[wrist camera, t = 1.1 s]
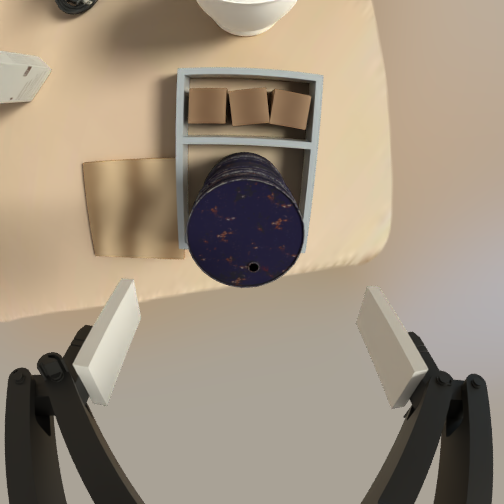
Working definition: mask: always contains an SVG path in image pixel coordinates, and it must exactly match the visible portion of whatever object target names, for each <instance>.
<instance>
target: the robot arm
mask: <svg viewBox="0 0 504 504" xmlns="http://www.w3.org/2000/svg"><path fill="white" fill-rule="evenodd" d="M140 319H141V315H140V310H139V305H138V300H137V294H136V289H135V283H134V279H123V278H121V280H120V282H119V283H118V285H117V286H116V288H115V290H114V291H113V293H112V295H111V296H110V298H109V300H108V301H107V303H106V305H105V306H104V308H103V310H102V312H101V313H100V315H99V317H98V319H97V320H96V322H95V324H94V326H89V325H85V326H84V327H82V328H81V329H80V330H79V331H78V332H77V334H76V336H75V337H74V340H73V341H72V343H71V346H69V348H68V350H67V352H66V353H65V355H64V357H63V358H62V356H61V355H59V354H58V353H54V352H51V353H47V354H45V355H43V356H42V357H41V358H40V359H39V361H38V363H37V369H38V370H39V372H40V374H41V375H31V373H30V372H29V370H28V369H26V368H18V369H15V370H14V371H13V372H12V373H11V374H10V376H9V379H8V388H7V399H6V414H5V462H6V463H5V464H6V478H7V488H8V496H9V504H67V503H66V499H65V494H64V489H63V484H62V479H61V474H60V468H59V462H58V455H57V447H56V439H55V428H54V416H56V419H57V422H58V425H59V427H60V430H61V433H62V435H63V438H64V440H65V443H66V445H67V448H68V450H69V453H70V455H71V457H72V459H73V462H74V464H75V465H76V468H77V470H78V472H79V474H80V477H81V478H82V481H83V483H84V485H85V486H86V488H87V490H88V492H89V494H90V496H91V498H92V500H93V501H94V503H95V504H145V503H144V502H143V501H142V499H141V498H140V496H139V495H138V493H137V492H136V490H135V489H134V487H133V486H132V485H131V483H130V481H129V480H128V478H127V477H126V475H125V473H124V472H123V470H122V468H121V467H120V465H119V463H118V462H117V460H116V459H115V457H114V455H113V453H112V452H111V450H110V448H109V446H108V444H107V442H106V440H105V439H104V437H103V435H102V433H101V431H100V429H99V427H98V425H97V423H96V421H95V419H94V417H93V415H92V412H91V410H90V408H89V406H88V404H87V400H88V398H89V397H90V399H91V400H92V402H93V403H95V404H100V405H104V406H108V403H109V400H110V397H111V394H112V392H113V389H114V386H115V383H116V380H117V378H118V375H119V372H120V370H121V367H122V364H123V361H124V359H125V357H126V354H127V351H128V349H129V346H130V344H131V341H132V339H133V336H134V334H135V331H136V329H137V327H138V324H139V322H140ZM356 325H357V327H358V329H359V331H360V333H361V336H362V338H363V340H364V343H365V345H366V347H367V349H368V352H369V354H370V357H371V359H372V362H373V364H374V366H375V369H376V371H377V374H378V376H379V378H380V381H381V383H382V386H383V388H384V391H385V393H386V396H387V399H388V401H389V404H390V406H391V409H393V408H399V407H404V406H405V405H406V403H407V402H408V400H409V399H410V401H411V403H412V406H411V407H410V408H409V410H408V411H407V413H406V414H405V415H404V418H405V417H406V418H405V421H404V423H403V425H402V427H401V430H400V432H399V434H398V436H397V438H396V441H395V443H394V445H393V447H392V449H391V451H390V453H389V455H388V457H387V459H386V461H385V463H384V464H383V466H382V468H381V470H380V472H379V474H378V475H377V477H376V479H375V481H374V483H373V484H372V486H371V488H370V489H369V491H368V493H367V494H366V496H365V498H364V499H363V501H362V502H361V504H414V502H415V501H416V498H417V496H418V494H419V492H420V490H421V487H422V485H423V483H424V480H425V478H426V475H427V473H428V470H429V468H430V465H431V463H432V460H433V457H434V454H435V451H436V449H437V446H438V443H439V439H440V436H441V449H440V462H439V471H438V479H437V486H436V493H435V499H434V504H491V502H492V487H493V444H492V428H491V417H490V407H489V400H488V392H487V387H486V382H485V381H484V379H483V378H482V377H481V376H479V375H477V374H470V375H469V376H468V377H467V378H466V380H465V381H461V380H453V378H452V377H451V376H450V375H449V374H448V373H446V372H444V371H439V369H438V368H437V366H436V364H435V362H434V360H433V359H432V357H431V355H430V354H429V352H428V350H427V349H426V347H425V346H424V344H423V342H422V340H421V339H420V337H418V336H417V335H416V334H415V333H414V332H407V331H406V329H405V328H404V326H403V324H402V323H401V321H400V319H399V318H398V316H397V314H396V313H395V311H394V310H393V308H392V306H391V305H390V303H389V302H388V300H387V299H386V297H385V295H384V294H383V292H382V291H381V289H380V288H379V286H367V288H366V292H365V295H364V299H363V302H362V306H361V309H360V312H359V315H358V318H357V321H356Z"/></svg>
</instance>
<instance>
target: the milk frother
mask: <svg viewBox="0 0 504 504" xmlns="http://www.w3.org/2000/svg"><path fill="white" fill-rule="evenodd" d="M97 1H98V0H55V2H56V3H57V5H58V7H59V8H60V9H61V10H62V11H63V12H65V13H68V14H79V13H82V12H85V11H86V10H88V9H89V8H91V7H92V6H93V5H94V4H95V3H96V2H97ZM67 2H68V3H69V2H71V3H73V4H76V5H77V6H72V5H70V4H68V3H67Z"/></svg>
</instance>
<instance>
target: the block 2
mask: <svg viewBox="0 0 504 504" xmlns="http://www.w3.org/2000/svg"><path fill="white" fill-rule="evenodd" d="M229 99H230V107H231V116H232V124H233V126H239V125H248V124H258V123H270V120H269V111H268V101H267V92H266V88H254V89H244V90H235V91H229Z"/></svg>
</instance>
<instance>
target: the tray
mask: <svg viewBox="0 0 504 504" xmlns="http://www.w3.org/2000/svg"><path fill="white" fill-rule="evenodd" d="M209 77H224V78H255V79H271V80H283V81H293V82H302V83H310V85H309V96H311V102H310V107H309V113H308V118H307V127H306V139H305V140H303V139H292V138H279V137H264V136H243V135H188V112H189V84H190V78H209ZM322 91H323V75H317V74H310V73H302V72H294V71H284V70H272V69H258V68H232V67H204V68H178V73H177V97H176V194H177V220H178V239H179V249H189V248H188V245H187V238H186V230H187V223H188V219H189V209H188V144H231V145H257V146H275V147H289V148H301V149H305V151H304V162H303V172H302V182H301V192H300V202H299V211H300V213H301V215H302V219H303V222H304V229H305V237H304V244H303V248H302V251H301V253H305V251H306V244H307V237H308V229H309V222H310V214H311V206H312V198H313V189H314V180H315V171H316V161H317V151H318V141H319V130H320V118H321V105H322Z"/></svg>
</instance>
